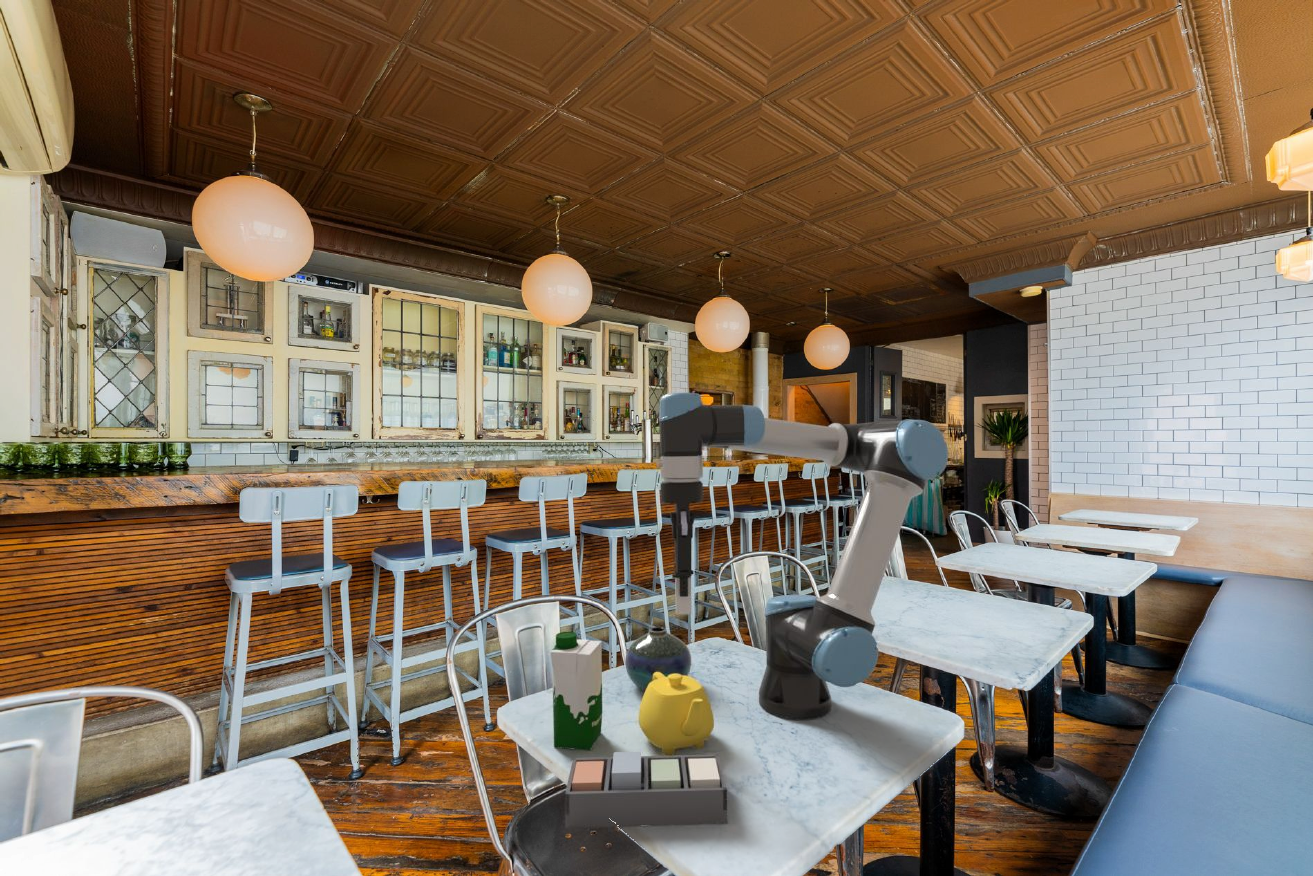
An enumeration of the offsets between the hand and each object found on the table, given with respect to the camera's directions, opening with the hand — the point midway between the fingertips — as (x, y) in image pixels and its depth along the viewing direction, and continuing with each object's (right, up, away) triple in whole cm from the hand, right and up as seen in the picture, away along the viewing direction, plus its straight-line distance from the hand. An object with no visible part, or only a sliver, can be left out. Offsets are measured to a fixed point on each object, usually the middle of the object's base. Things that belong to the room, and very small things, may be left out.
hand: (683, 613), depth 105 cm
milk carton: (-20, -27, +8) cm, 34 cm away
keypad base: (-6, -26, -12) cm, 30 cm away
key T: (-3, -24, -12) cm, 27 cm away
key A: (+3, -24, -12) cm, 27 cm away
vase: (-4, -27, +33) cm, 43 cm away
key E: (-15, -24, -13) cm, 31 cm away
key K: (-9, -23, -12) cm, 27 cm away
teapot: (-1, -27, +7) cm, 28 cm away
